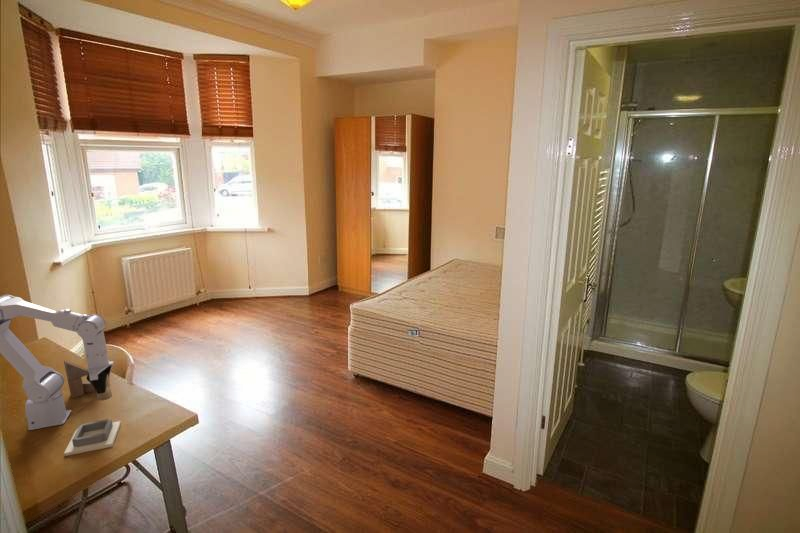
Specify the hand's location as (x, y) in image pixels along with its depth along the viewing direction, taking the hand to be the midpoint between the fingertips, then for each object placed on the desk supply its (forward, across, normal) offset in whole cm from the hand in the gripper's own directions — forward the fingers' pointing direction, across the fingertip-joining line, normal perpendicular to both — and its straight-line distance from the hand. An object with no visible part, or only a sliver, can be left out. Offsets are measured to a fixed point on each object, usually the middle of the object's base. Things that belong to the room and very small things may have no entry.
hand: (103, 389), depth 140 cm
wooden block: (+10, +20, +10) cm, 25 cm away
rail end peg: (+3, 0, 0) cm, 3 cm away
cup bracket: (+10, -13, +1) cm, 16 cm away
